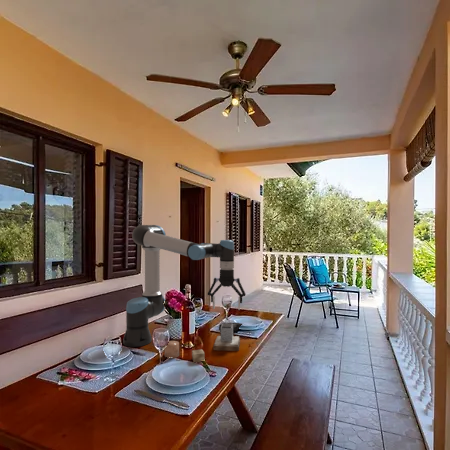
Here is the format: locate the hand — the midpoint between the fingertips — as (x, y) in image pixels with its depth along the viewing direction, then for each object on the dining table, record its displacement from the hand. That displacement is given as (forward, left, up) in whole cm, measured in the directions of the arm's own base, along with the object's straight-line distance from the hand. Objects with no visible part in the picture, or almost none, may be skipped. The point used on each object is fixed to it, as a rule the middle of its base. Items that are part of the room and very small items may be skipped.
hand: (226, 308), depth 165 cm
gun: (0, +20, -20) cm, 28 cm away
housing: (0, 0, -17) cm, 17 cm away
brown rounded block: (-26, -15, -20) cm, 36 cm away
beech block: (-12, -19, -20) cm, 30 cm away
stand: (0, 0, -20) cm, 20 cm away
